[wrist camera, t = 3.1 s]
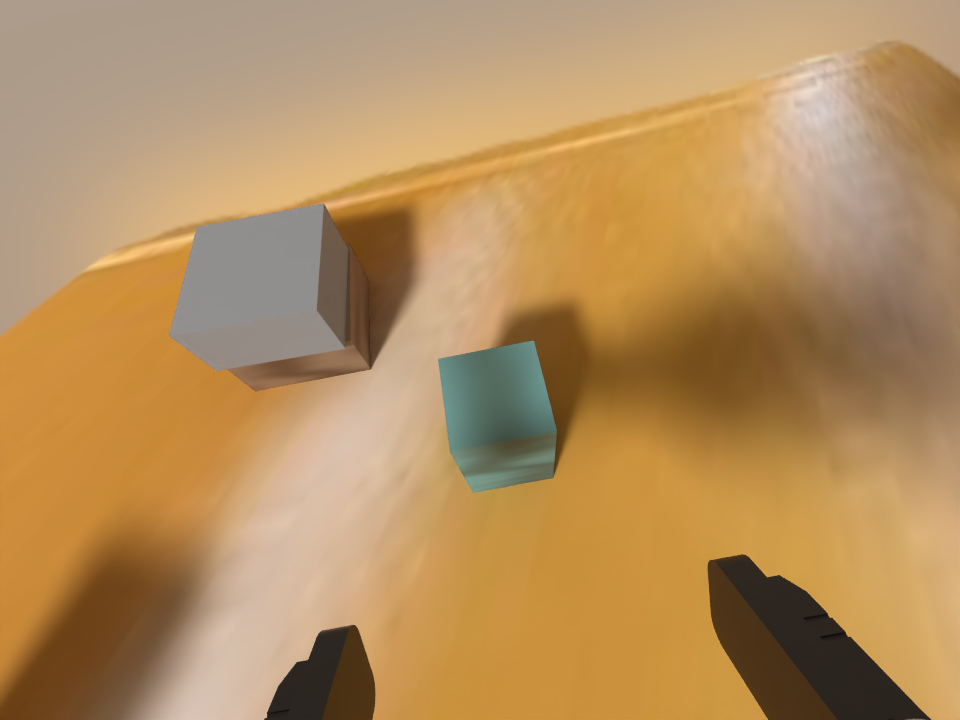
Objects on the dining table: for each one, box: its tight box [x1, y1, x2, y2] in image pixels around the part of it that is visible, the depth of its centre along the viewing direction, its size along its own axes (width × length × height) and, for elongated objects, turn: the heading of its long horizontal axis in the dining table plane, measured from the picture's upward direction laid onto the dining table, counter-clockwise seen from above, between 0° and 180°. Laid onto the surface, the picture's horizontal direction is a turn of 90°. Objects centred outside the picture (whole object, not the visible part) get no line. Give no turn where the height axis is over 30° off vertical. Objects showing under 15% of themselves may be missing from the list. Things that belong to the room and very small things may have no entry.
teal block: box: [438, 340, 557, 493], centre depth 24 cm, size 5×5×8 cm
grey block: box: [169, 204, 348, 371], centre depth 27 cm, size 8×8×4 cm
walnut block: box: [227, 244, 371, 391], centre depth 31 cm, size 8×8×4 cm
